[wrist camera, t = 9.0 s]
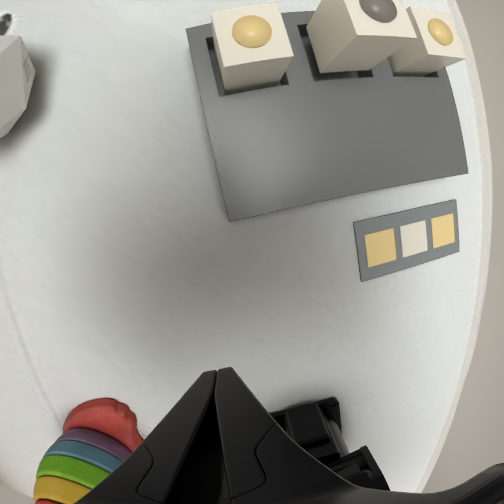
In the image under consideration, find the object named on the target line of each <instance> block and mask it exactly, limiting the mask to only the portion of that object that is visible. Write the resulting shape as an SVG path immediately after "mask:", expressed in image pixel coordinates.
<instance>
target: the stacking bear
mask: <svg viewBox="0 0 504 504" xmlns="http://www.w3.org/2000/svg"><path fill="white" fill-rule="evenodd" d="M141 443H143V440H142V439H141V437H140V436H139V434H138V432H137V429H136V418H135V416H134V414H133V413H132V412H131V411H130V410H129V408H128V407H127V406H126V405H124V404H121V403H119V402H117V401H115V400H112V399H98V400H93V401H89V402H86V403H83V404H81V405H79V406H78V407H76V408H75V409H73V410H72V411H71V412H70V413H69V415H68V416H67V418H66V420H65V423H64V426H63V434H62V435H61V436H60V437H59V438H58V439H57V440H56V442H55V443H54V444H53V445H52V446H51V447H50V448H49V449H48V450H47V452H46V453H45V455H44V456H43V459H42V460H41V462H40V464H39V467H38V470H37V474H36V482H35V487H34V497H33V499H34V502H35V504H73V503H75V502H76V501H78V500H79V499H81V498H82V497H83V496H84V495H86V494H87V493H88V492H89V491H90V490H92V489H93V488H94V487H95V486H96V485H98V484H99V483H100V482H101V481H102V480H104V479H105V478H106V477H107V476H108V475H109V474H111V473H112V472H113V471H114V470H115V469H116V468H117V467H118V466H119V465H121V464H122V463H123V462H124V461H125V460H126V459H127V458H128V457H129V456H130V455H131V453H132V452H133V451H134V450H135V449H136V448H137V447H138V446H139V445H140V444H141Z"/></svg>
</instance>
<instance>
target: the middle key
mask: <svg viewBox="0 0 504 504" xmlns="http://www.w3.org/2000/svg"><path fill="white" fill-rule="evenodd" d="M306 29H307V32H308V35H309V38H310V41H311V44H312V48H313V51H314V54H315V58H316V61H317V64H318V68H319V71H320V73H329V72H343V71H361V70H370V69H371V68H372V67H374V66H375V65H377V64H378V63H380V62H381V61H383V60H384V59H386V58H387V57H389V56H390V55H392V54H393V53H395V52H396V51H398V50H399V49H401V48H402V47H404V46H406V45H407V44H409V43H410V42H412V41H413V40H415V39H417V36H416V34H415V31H414V28H413V26H412V23H411V21H410V18H409V16H408V13H407V11H406V9H405V6H404V4H403V2H402V0H322V1H321V2H320V4H319V6H318V8H317V9H316V11H315V13H314V14H313V16H312V18H311V20H310V21H309V23H308V25H307V27H306Z"/></svg>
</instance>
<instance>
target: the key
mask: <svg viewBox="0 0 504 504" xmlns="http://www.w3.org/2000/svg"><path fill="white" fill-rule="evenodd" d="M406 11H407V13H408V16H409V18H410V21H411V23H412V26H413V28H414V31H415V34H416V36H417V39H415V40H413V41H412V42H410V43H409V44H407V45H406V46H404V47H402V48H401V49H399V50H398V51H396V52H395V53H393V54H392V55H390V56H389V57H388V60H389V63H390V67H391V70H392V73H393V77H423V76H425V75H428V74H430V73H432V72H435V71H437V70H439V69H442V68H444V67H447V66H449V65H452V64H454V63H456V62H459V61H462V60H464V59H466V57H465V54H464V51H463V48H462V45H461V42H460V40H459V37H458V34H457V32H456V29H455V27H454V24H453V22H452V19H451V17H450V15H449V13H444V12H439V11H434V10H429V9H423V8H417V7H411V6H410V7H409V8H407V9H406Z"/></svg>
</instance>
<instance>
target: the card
mask: <svg viewBox="0 0 504 504" xmlns="http://www.w3.org/2000/svg"><path fill="white" fill-rule="evenodd" d="M353 224H354V231H355V238H356V245H357V252H358V260H359V268H360V277H361V282H363V281H367V280H370V279H374V278H377V277H381V276H384V275H387V274H391V273H394V272H397V271H401V270H404V269H407V268H410V267H414V266H417V265H420V264H423V263H426V262H429V261H433V260H436V259H439V258H442V257H445V256H448V255H451V254H454V253H457V252H459V230H458V215H457V203H456V200H455V199H454V200H450V201H446V202H441V203H437V204H432V205H428V206H423V207H419V208H415V209H410V210H406V211H401V212H397V213H393V214H388V215H384V216H380V217H375V218H371V219H366V220H362V221H358V222H353Z"/></svg>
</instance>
